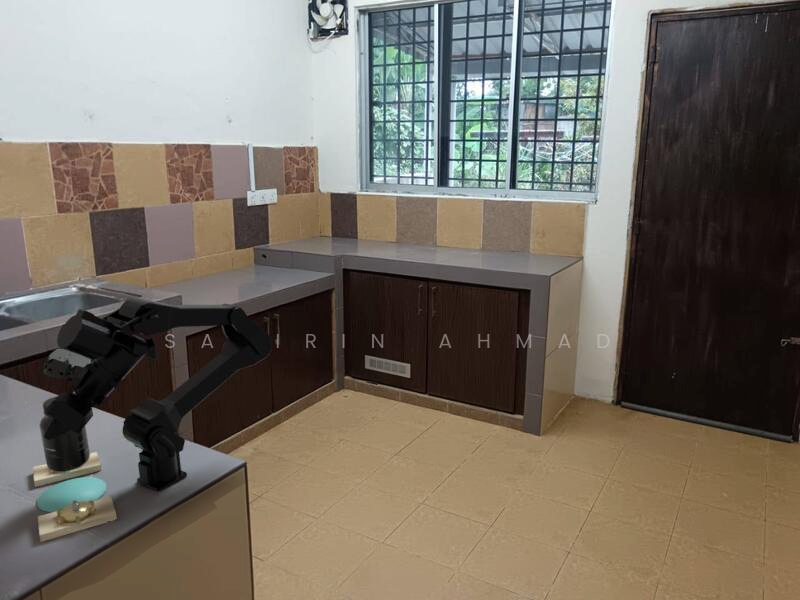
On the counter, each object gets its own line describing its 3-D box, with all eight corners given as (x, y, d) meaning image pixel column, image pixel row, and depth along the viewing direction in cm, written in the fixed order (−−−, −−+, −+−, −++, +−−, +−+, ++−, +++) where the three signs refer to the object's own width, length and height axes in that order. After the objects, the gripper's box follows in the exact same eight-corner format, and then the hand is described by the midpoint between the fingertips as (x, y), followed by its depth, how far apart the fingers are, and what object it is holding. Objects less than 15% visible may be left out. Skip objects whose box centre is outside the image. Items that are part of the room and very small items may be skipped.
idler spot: (35, 489, 111) (35, 488, 110) (102, 472, 116) (102, 471, 116) (38, 519, 102) (38, 518, 101) (110, 499, 107) (110, 498, 107)
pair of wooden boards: (33, 472, 116) (32, 467, 116) (97, 457, 122) (96, 451, 122) (40, 542, 96) (39, 535, 95) (116, 519, 101) (115, 513, 101)
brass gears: (49, 463, 117) (47, 448, 117) (81, 455, 120) (79, 441, 120) (59, 529, 97) (56, 512, 96) (97, 518, 100) (95, 502, 99)
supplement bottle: (41, 475, 104) (28, 411, 101) (55, 454, 111) (43, 393, 107) (84, 471, 105) (72, 408, 102) (95, 450, 112) (85, 390, 108)
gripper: (91, 319, 111) (36, 380, 112) (50, 353, 93) (-15, 425, 94) (141, 357, 114) (87, 416, 115) (111, 397, 96) (47, 466, 98)
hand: (54, 428), depth 106 cm, fingers closed on supplement bottle, 6 cm apart
